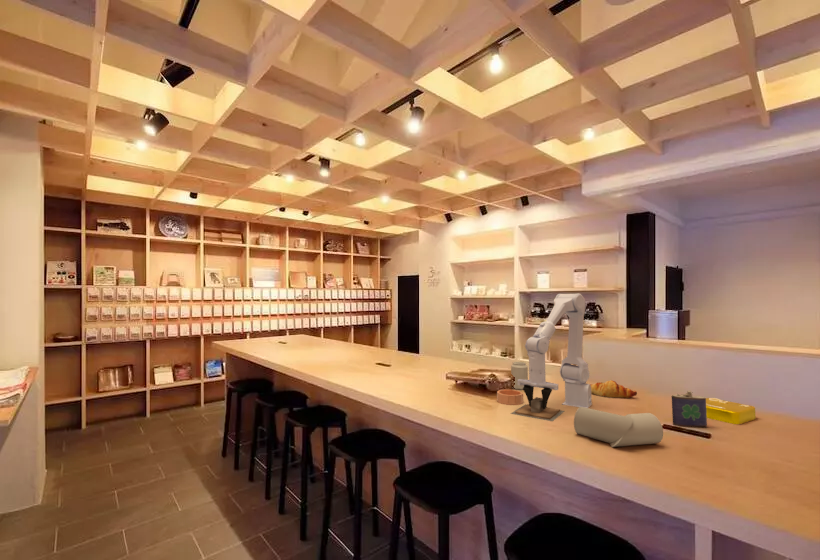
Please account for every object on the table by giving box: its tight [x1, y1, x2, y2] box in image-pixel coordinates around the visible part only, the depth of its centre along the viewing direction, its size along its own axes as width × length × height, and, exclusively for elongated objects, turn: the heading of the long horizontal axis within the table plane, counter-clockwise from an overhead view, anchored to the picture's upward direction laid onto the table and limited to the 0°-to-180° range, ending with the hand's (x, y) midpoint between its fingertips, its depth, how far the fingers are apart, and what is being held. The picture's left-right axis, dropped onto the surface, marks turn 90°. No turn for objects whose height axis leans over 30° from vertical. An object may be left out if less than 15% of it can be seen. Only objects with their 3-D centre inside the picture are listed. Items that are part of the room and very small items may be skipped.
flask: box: [671, 390, 708, 429], centre depth 128 cm, size 10×3×12 cm, turn 78°
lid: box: [514, 396, 561, 420], centre depth 142 cm, size 12×12×5 cm
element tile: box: [705, 397, 756, 425], centre depth 139 cm, size 15×15×5 cm
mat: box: [510, 403, 565, 422], centre depth 142 cm, size 15×15×1 cm
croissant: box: [589, 379, 638, 399], centre depth 169 cm, size 21×10×8 cm, turn 55°
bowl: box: [496, 389, 524, 406], centre depth 157 cm, size 10×10×4 cm
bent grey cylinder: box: [573, 407, 664, 448], centre depth 116 cm, size 18×11×20 cm
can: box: [510, 361, 529, 391], centre depth 182 cm, size 8×8×12 cm
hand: (537, 407), depth 142 cm, fingers open, 4 cm apart
